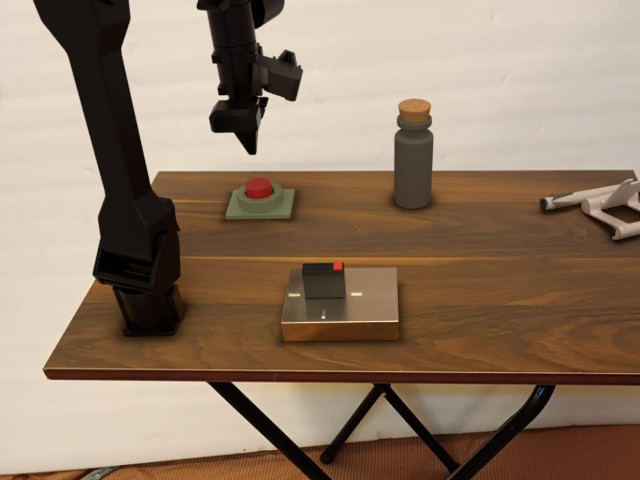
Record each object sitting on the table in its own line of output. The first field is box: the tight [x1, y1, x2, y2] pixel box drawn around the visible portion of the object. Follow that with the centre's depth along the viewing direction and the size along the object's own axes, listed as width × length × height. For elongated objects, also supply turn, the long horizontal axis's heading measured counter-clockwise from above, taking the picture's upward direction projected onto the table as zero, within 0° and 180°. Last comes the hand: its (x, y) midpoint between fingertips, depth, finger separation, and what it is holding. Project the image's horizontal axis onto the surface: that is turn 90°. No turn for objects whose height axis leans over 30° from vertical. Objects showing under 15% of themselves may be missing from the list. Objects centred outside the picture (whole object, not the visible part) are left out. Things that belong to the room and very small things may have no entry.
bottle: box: [393, 98, 435, 210], centre depth 95 cm, size 6×6×15 cm
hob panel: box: [280, 266, 400, 342], centre depth 80 cm, size 14×11×3 cm
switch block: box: [224, 181, 296, 220], centre depth 99 cm, size 10×8×2 cm
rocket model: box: [538, 180, 640, 211], centre depth 99 cm, size 2×2×30 cm
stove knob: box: [301, 260, 346, 298], centre depth 77 cm, size 5×2×4 cm, turn 90°
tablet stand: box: [580, 178, 640, 241], centre depth 94 cm, size 9×8×8 cm
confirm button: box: [244, 177, 272, 199], centre depth 98 cm, size 4×4×2 cm
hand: (252, 154), depth 94 cm, fingers closed
